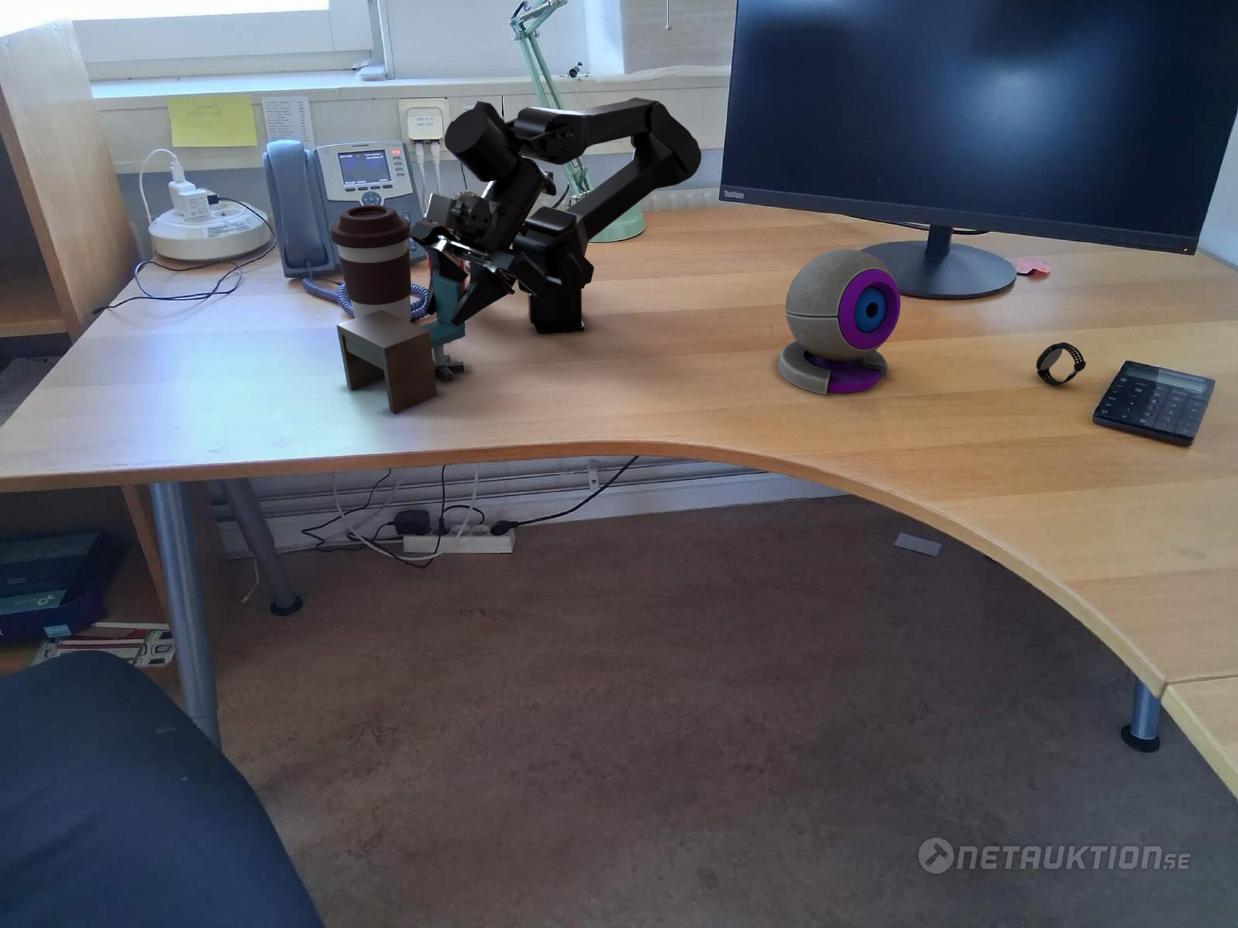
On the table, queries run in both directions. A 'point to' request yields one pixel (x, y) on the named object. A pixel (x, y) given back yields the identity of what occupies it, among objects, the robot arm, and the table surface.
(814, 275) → the webcam
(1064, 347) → the smartwatch
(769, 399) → the table surface
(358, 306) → the coffee cup
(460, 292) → the office chair
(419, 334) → the desk
